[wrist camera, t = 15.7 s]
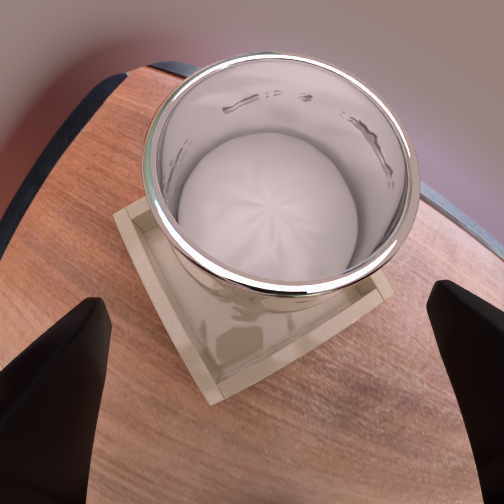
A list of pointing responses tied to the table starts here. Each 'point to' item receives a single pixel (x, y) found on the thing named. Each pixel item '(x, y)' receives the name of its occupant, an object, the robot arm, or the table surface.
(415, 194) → the silver metal tumbler
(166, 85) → the table surface
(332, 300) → the tray
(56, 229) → the table surface
